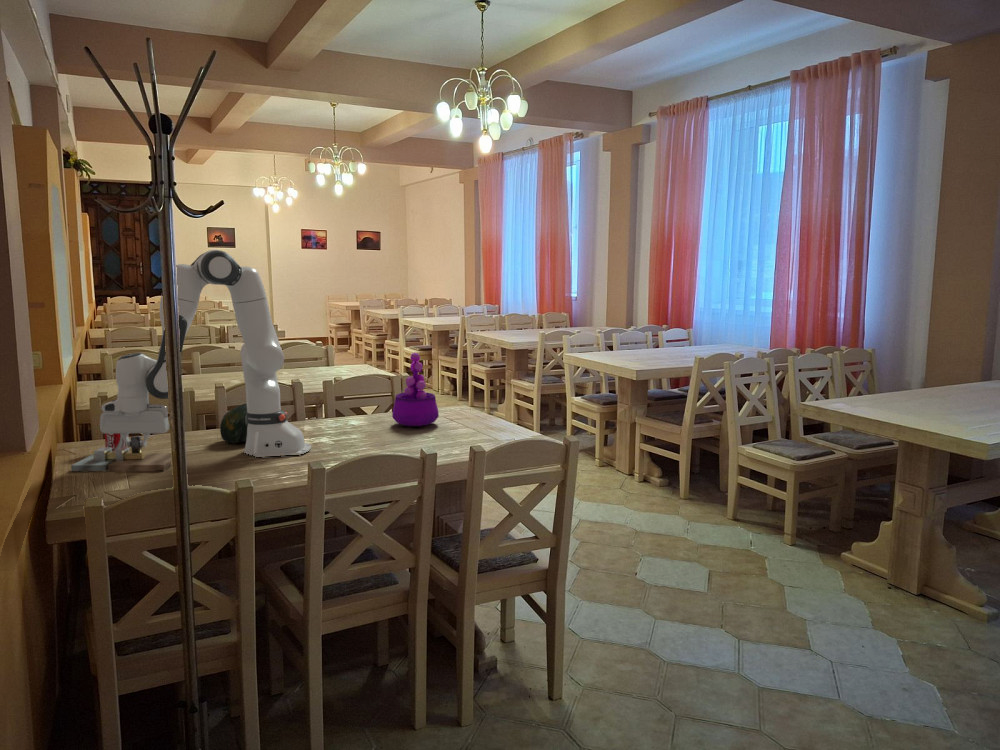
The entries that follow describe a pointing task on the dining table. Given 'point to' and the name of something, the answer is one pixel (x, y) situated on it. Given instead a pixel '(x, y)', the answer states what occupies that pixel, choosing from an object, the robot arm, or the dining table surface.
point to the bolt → (133, 454)
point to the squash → (234, 425)
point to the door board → (125, 463)
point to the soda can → (114, 441)
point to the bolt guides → (101, 452)
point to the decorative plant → (415, 400)
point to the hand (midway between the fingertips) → (136, 446)
